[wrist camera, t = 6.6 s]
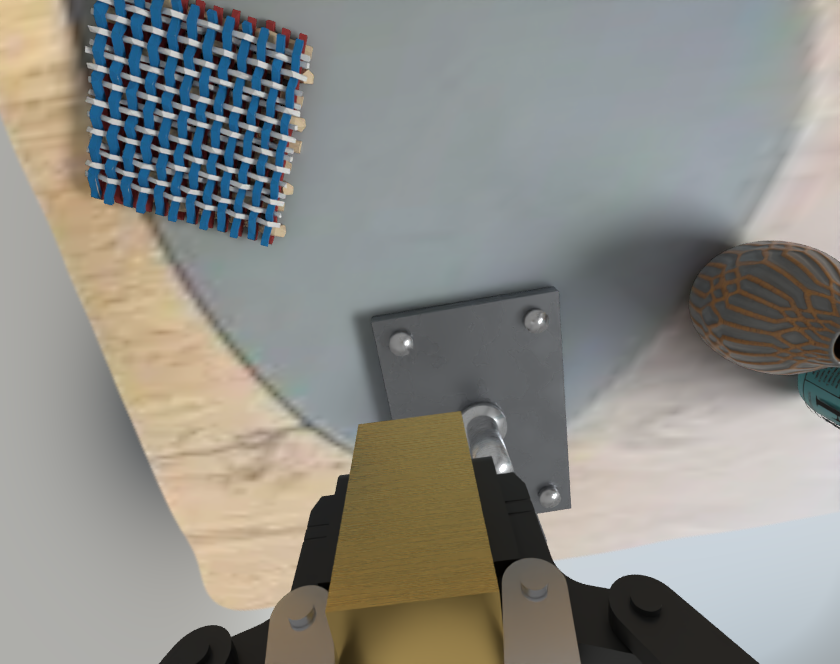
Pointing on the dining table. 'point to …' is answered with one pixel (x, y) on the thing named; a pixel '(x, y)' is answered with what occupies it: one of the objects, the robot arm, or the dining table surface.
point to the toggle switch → (488, 381)
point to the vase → (770, 307)
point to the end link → (414, 551)
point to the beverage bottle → (822, 392)
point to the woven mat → (193, 113)
